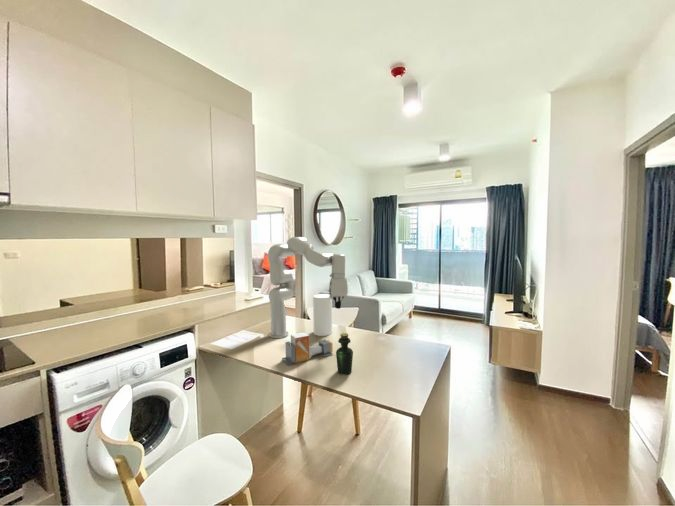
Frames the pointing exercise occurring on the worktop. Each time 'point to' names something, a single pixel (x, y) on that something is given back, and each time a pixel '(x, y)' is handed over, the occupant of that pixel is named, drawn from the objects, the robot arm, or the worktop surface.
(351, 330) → the worktop surface
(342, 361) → the potion bottle
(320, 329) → the cylinder
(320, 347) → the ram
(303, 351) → the small box
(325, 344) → the guide block
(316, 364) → the worktop surface
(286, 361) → the plate
